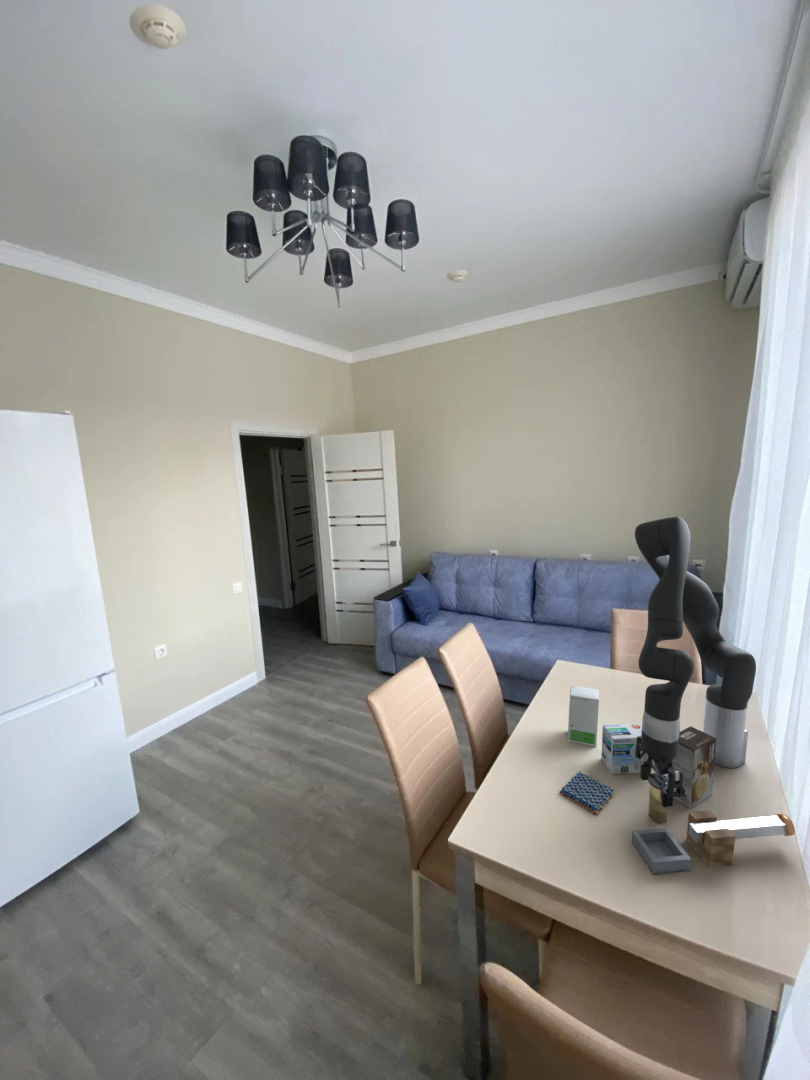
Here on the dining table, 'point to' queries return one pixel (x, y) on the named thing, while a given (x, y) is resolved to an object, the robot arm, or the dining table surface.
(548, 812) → the dining table surface
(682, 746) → the coffee box
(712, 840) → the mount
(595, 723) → the skincare box
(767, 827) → the pin
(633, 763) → the light bulb box
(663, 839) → the box
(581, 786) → the woven mat
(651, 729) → the robot arm
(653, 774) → the yellow glass jar
